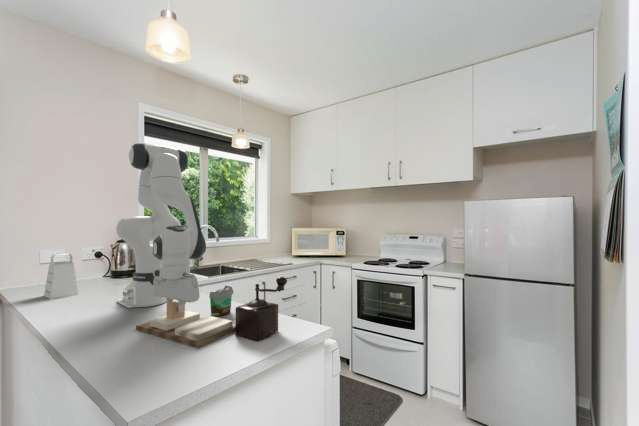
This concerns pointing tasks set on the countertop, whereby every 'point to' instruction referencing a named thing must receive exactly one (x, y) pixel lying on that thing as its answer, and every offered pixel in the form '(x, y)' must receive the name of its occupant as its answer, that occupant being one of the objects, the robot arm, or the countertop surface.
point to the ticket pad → (181, 339)
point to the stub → (174, 318)
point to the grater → (61, 279)
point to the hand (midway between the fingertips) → (175, 311)
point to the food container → (221, 301)
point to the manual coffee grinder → (258, 316)
